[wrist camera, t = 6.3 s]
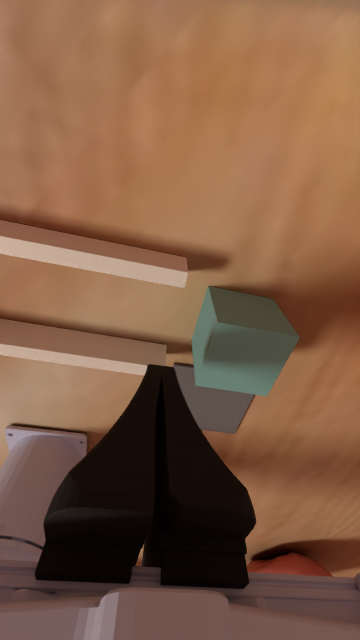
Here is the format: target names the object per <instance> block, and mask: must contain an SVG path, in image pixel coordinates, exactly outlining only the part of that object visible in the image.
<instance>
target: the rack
mask: <svg viewBox="0 0 360 640" xmlns="http://www.w3.org/2000/svg"><path fill="white" fill-rule="evenodd" d="M0 254H5V255H10V256H16V257H21V258H26V259H32V260H37V261H42V262H48V263H53V264H58V265H64V266H69V267H74V268H80V269H85V270H90V271H96V272H101V273H106V274H112V275H117V276H123V277H128V278H133V279H139V280H144V281H149V282H155V283H160V284H165V285H171V286H176V287H181V288H185V284H186V280H187V275H188V267H187V258H186V257H182V256H177V255H172V254H167V253H162V252H157V251H152V250H147V249H142V248H137V247H132V246H127V245H122V244H117V243H112V242H107V241H102V240H97V239H92V238H87V237H83V236H78V235H73V234H68V233H63V232H58V231H53V230H48V229H43V228H38V227H33V226H28V225H23V224H18V223H13V222H8V221H3V220H0ZM0 355H5V356H12V357H19V358H26V359H33V360H40V361H47V362H54V363H61V364H68V365H75V366H82V367H89V368H96V369H103V370H110V371H117V372H124V373H131V374H138V375H145V373H146V369H147V365H149V364H154V365H161V366H166V345H163V344H157V343H151V342H144V341H138V340H132V339H126V338H119V337H113V336H107V335H100V334H94V333H88V332H82V331H75V330H69V329H63V328H56V327H50V326H44V325H37V324H31V323H25V322H19V321H12V320H6V319H0Z"/></svg>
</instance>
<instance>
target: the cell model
mask: <svg viewBox="0 0 360 640" xmlns="http://www.w3.org/2000/svg"><path fill="white" fill-rule="evenodd" d="M247 571H248V572H254V573H273V574H293V575H312V576H332V575H331V574H330V573H329V572H328V571H327V570H326V569H325V568H324V566H322V565H321V564H320V563H319V562H317V561H315V560H312V559H310V558H308V557H305V556H303V555H300V554H298V553H287V554H284V555H282V556H279V557H275V558H273V559H267V560H256V561H253V562H251V563H249V564H248V565H247ZM332 577H333V576H332Z"/></svg>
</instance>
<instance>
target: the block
mask: <svg viewBox="0 0 360 640" xmlns="http://www.w3.org/2000/svg"><path fill="white" fill-rule="evenodd" d="M299 338H300V337H299V335H298V334H297V332H296V331H295V330H294V328H293V327H292V325H291V324H290V323H289V321H288V320H287V318H286V317H285V315H284V314H283V313H282V311H281V310H280V308H279V307H278V306H277V304H276V303H275V301H274V300H273V299H270V298H265V297H260V296H255V295H250V294H245V293H241V292H236V291H231V290H226V289H221V288H216V287H211V286H208V288H207V291H206V295H205V298H204V301H203V305H202V308H201V311H200V315H199V318H198V321H197V325H196V328H195V331H194V334H193V338H192V352H193V363H194V374H195V385H196V386H202V387H208V388H215V389H222V390H228V391H235V392H242V393H249V394H255V395H262V396H267V395H268V393H269V391H270V390H271V388H272V386H273V384H274V383H275V381H276V379H277V377H278V376H279V374H280V372H281V370H282V368H283V367H284V365H285V363H286V361H287V360H288V358H289V356H290V354H291V352H292V351H293V349H294V347H295V345H296V344H297V342H298V340H299Z"/></svg>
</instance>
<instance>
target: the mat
mask: <svg viewBox="0 0 360 640" xmlns="http://www.w3.org/2000/svg"><path fill="white" fill-rule="evenodd" d="M173 367H174V369H175V371H176V375H177V379H178V382H179V385H180V388H181V390H182V393H183V395H184V398H185V400H186V402H187V405H188V407H189V409H190V411H191V413H192V415H193V417H194V419H195V421H196V423H197V424H198V426H199V428H200V429H201V430H208V431H216V432H225V433H233V434H235V432H236V430H237V428H238V426H239V424H240V422H241V420H242V418H243V416H244V414H245V412H246V410H247V408H248V406H249V404H250V402H251V400H252V398H253V397H254V395H255V394H249V393H242V392H235V391H228V390H222V389H215V388H208V387H202V386H196V385H195V374H194V366H192V365H185V364H179V363H174V366H173Z"/></svg>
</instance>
